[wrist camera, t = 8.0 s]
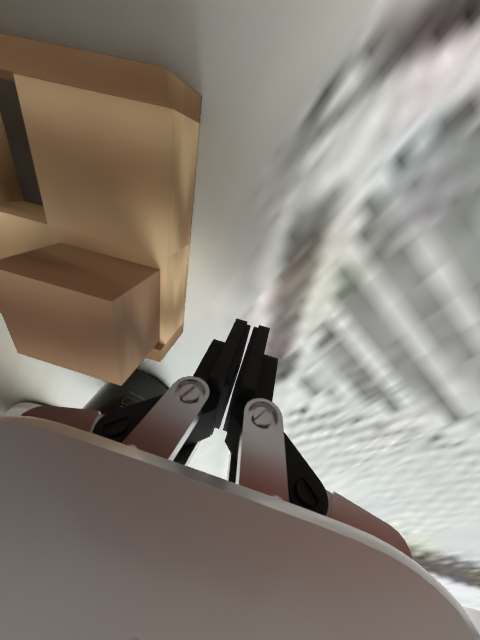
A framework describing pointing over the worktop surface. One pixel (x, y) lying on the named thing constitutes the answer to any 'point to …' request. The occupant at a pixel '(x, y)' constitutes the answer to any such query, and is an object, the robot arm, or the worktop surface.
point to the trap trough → (99, 162)
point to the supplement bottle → (126, 393)
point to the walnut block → (81, 309)
